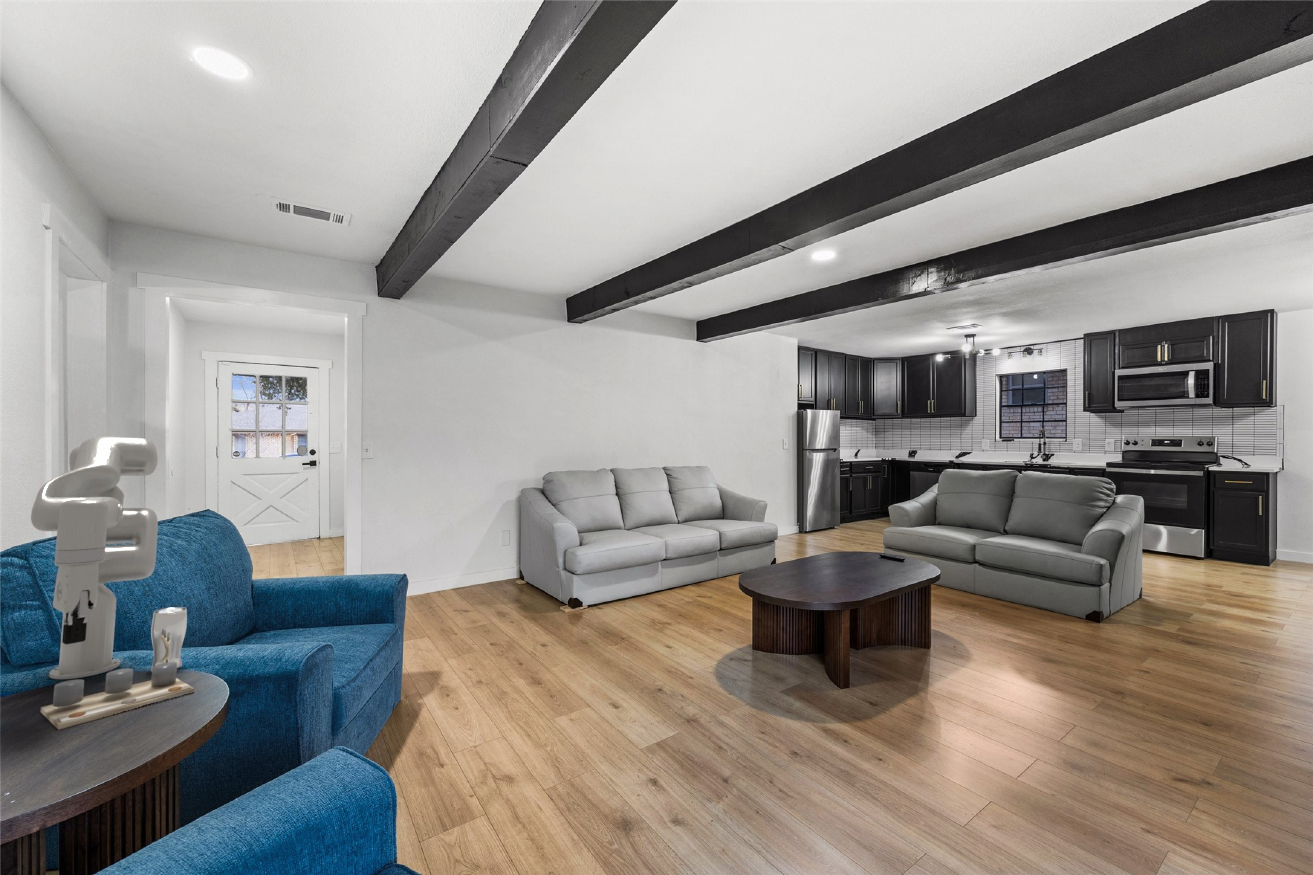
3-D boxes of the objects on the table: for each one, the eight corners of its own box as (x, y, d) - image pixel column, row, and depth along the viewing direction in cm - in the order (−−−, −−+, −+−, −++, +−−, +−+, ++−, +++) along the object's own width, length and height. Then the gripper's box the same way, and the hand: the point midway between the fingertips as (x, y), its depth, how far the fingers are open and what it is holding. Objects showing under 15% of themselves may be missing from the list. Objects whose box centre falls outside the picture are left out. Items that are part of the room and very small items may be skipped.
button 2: (148, 683, 130) (149, 666, 131) (171, 677, 134) (173, 661, 134) (155, 687, 128) (156, 670, 128) (178, 681, 132) (180, 664, 132)
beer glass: (162, 674, 139) (166, 614, 140) (141, 671, 140) (145, 612, 141) (190, 664, 146) (194, 607, 147) (170, 662, 147) (173, 605, 148)
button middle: (102, 690, 124) (103, 672, 124) (128, 684, 127) (129, 666, 128) (108, 695, 121) (109, 676, 122) (134, 688, 125) (136, 670, 125)
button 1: (50, 703, 117) (51, 684, 117) (79, 696, 121) (80, 677, 121) (55, 708, 115) (57, 689, 115) (85, 701, 118) (86, 682, 119)
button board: (40, 711, 118) (41, 704, 118) (171, 679, 136) (171, 673, 136) (58, 729, 110) (59, 722, 110) (194, 692, 129) (194, 686, 129)
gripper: (45, 555, 120) (38, 640, 119) (65, 562, 112) (58, 653, 111) (93, 551, 126) (87, 632, 125) (115, 557, 119) (109, 643, 118)
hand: (73, 642), depth 118 cm, fingers closed
